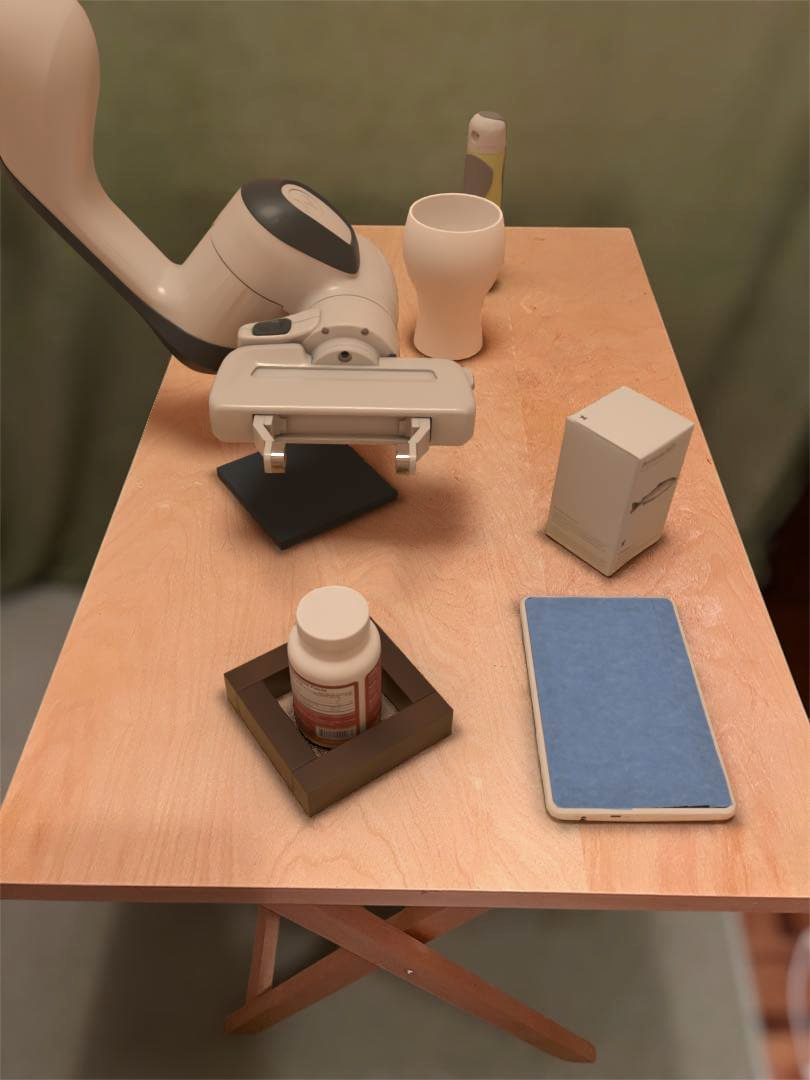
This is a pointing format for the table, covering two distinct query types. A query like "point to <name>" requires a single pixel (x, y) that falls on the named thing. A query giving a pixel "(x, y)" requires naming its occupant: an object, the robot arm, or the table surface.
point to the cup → (452, 269)
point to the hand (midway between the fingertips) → (340, 467)
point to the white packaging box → (616, 477)
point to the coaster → (307, 490)
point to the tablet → (620, 712)
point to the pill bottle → (334, 666)
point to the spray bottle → (486, 157)
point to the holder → (356, 758)
